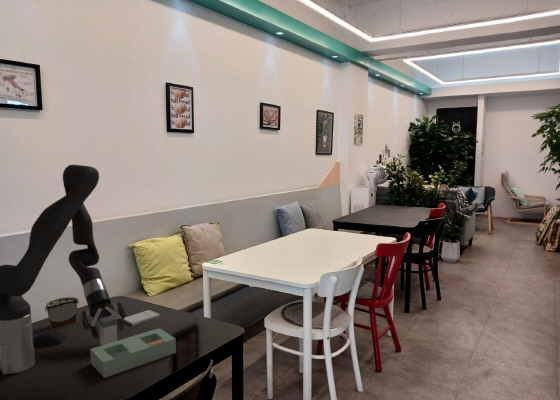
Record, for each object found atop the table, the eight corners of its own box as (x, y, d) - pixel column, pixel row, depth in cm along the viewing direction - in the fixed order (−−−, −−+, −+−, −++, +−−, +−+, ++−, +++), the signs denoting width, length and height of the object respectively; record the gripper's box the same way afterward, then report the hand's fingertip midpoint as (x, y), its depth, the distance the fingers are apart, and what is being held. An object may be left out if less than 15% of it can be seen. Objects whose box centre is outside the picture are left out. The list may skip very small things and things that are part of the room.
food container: (75, 317, 177) (73, 294, 176) (80, 322, 173) (78, 298, 172) (42, 326, 169) (40, 302, 168) (47, 331, 164) (45, 306, 163)
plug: (105, 350, 148) (103, 322, 147) (100, 345, 151) (98, 318, 150) (117, 346, 151) (116, 319, 149) (113, 342, 154) (111, 315, 153)
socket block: (104, 378, 129) (103, 361, 129) (91, 363, 138) (90, 348, 138) (176, 352, 145) (175, 338, 144) (160, 341, 154) (159, 327, 153)
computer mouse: (60, 345, 153) (59, 334, 152) (26, 347, 151) (25, 337, 151) (66, 337, 159) (65, 327, 158) (34, 340, 157) (33, 329, 157)
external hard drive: (121, 322, 174) (148, 313, 183) (132, 327, 168) (159, 317, 178) (121, 318, 174) (148, 309, 183) (132, 323, 168) (159, 313, 178)
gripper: (77, 293, 150) (90, 335, 142) (118, 284, 159) (132, 323, 152) (74, 304, 154) (86, 344, 147) (113, 295, 164) (127, 332, 156)
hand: (109, 333), depth 149 cm, fingers open, 8 cm apart
